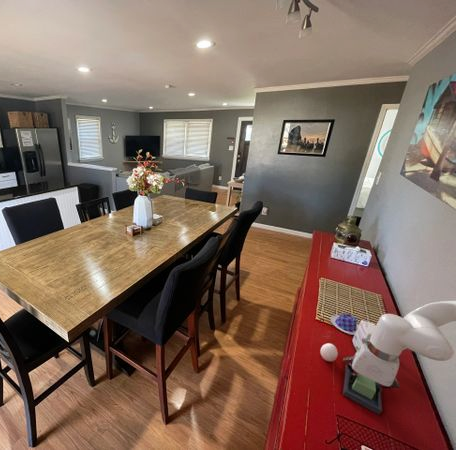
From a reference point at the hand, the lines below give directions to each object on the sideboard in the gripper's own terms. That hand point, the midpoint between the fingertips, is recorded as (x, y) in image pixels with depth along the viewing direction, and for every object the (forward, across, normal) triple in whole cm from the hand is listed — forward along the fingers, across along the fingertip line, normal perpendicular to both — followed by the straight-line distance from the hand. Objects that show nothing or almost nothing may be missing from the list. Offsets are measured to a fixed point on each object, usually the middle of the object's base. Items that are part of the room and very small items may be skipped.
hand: (362, 386), depth 84 cm
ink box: (+2, 0, +21) cm, 21 cm away
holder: (+2, 0, +2) cm, 3 cm away
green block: (0, 0, 0) cm, 0 cm away
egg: (+2, -11, +6) cm, 13 cm away
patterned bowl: (+2, -6, +33) cm, 34 cm away
